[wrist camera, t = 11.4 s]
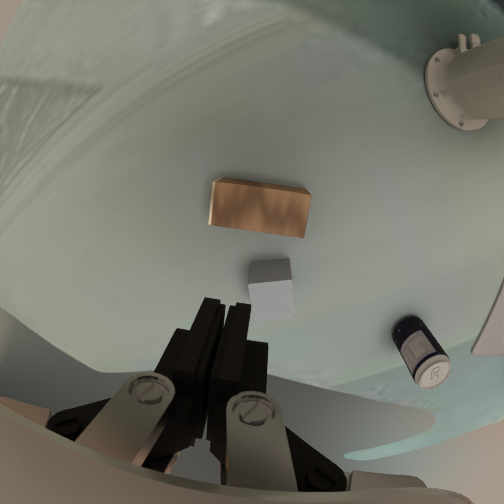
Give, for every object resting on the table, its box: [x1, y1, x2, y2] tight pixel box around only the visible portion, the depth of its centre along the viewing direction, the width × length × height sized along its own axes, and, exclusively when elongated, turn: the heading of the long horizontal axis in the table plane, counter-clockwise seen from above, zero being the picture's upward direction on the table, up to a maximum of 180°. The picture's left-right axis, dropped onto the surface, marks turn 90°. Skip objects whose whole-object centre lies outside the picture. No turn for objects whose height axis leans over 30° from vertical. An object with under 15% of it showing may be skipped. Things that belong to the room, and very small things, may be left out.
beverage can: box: [393, 317, 451, 389], centre depth 37 cm, size 6×6×12 cm
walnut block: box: [208, 178, 311, 238], centre depth 36 cm, size 5×5×11 cm
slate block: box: [248, 259, 295, 321], centre depth 38 cm, size 5×5×7 cm
